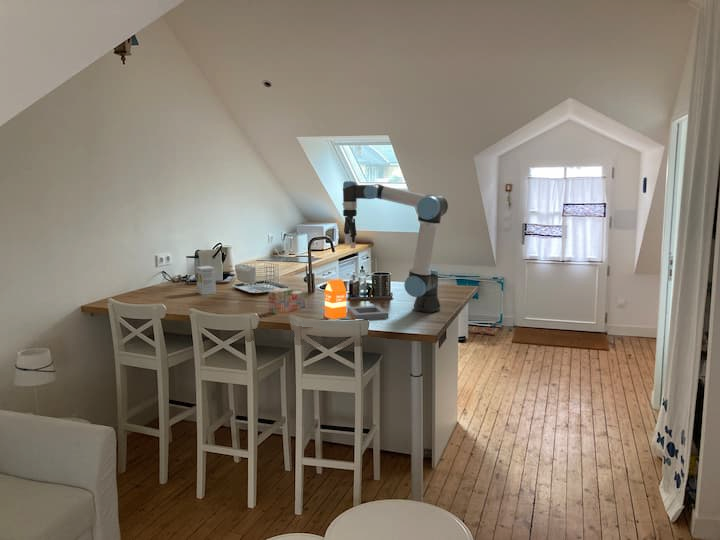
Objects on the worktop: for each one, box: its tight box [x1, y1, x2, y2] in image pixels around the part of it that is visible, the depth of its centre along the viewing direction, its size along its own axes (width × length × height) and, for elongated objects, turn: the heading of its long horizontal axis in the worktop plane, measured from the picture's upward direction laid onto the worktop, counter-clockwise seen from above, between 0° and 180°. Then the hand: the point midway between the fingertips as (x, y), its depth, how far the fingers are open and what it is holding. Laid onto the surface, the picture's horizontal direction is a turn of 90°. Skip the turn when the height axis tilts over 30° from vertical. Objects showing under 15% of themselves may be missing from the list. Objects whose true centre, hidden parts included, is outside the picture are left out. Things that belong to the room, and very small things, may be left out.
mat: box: [323, 314, 351, 320], centre depth 317 cm, size 12×12×1 cm
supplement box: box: [195, 265, 217, 296], centre depth 380 cm, size 10×9×17 cm
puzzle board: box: [346, 305, 389, 321], centre depth 321 cm, size 18×18×3 cm
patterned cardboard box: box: [268, 287, 306, 315], centre depth 334 cm, size 21×6×12 cm, turn 138°
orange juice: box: [324, 278, 347, 319], centre depth 315 cm, size 8×9×20 cm
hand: (350, 246), depth 337 cm, fingers open, 13 cm apart
